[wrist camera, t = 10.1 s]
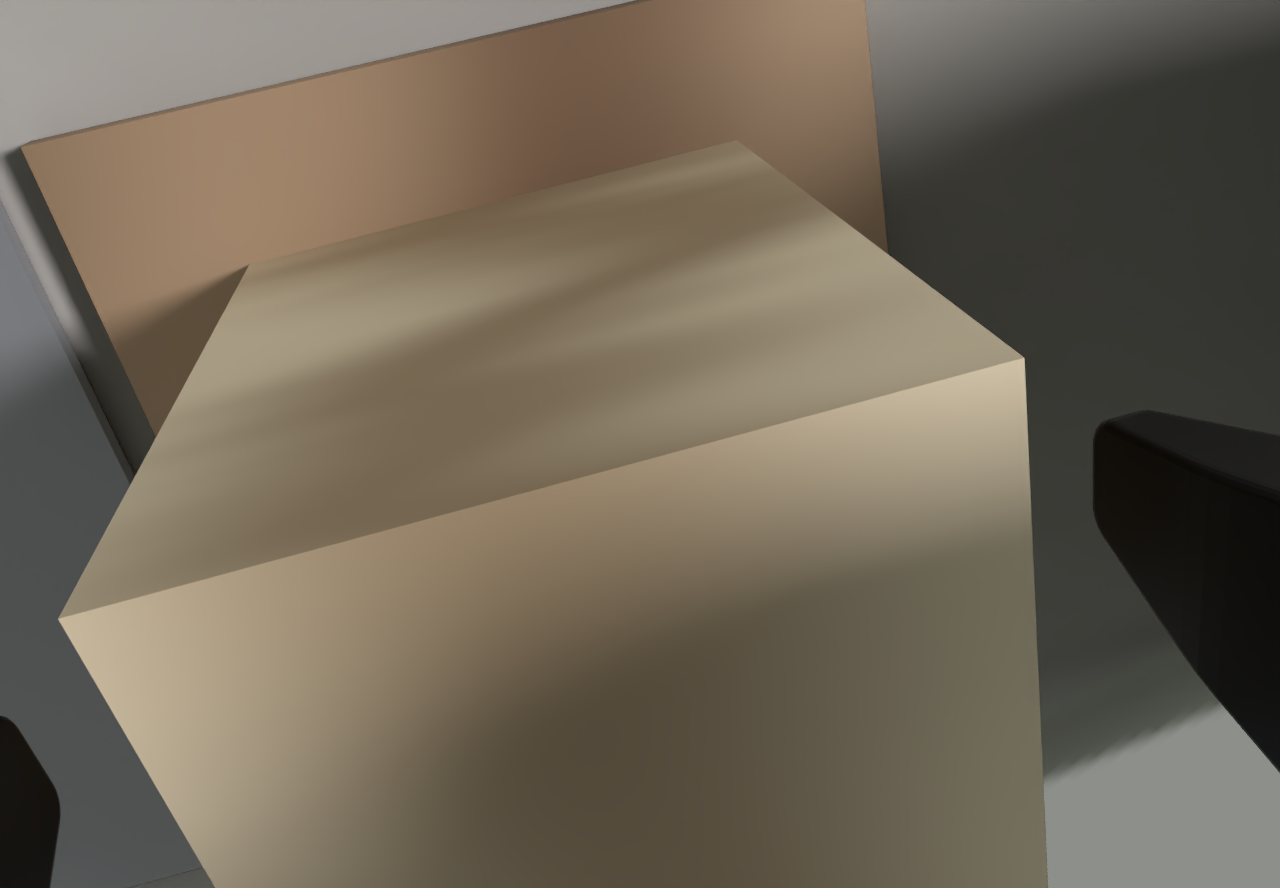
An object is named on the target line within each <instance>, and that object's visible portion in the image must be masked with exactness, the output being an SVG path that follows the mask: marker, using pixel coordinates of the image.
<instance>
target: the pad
mask: <svg viewBox="0 0 1280 888" xmlns="http://www.w3.org/2000/svg"><path fill="white" fill-rule="evenodd" d="M735 140H738V141H739V142H740V143H742V144H743V145H744V146H746V147H747V148H748V149H750V150H751V151H752V152H754V153H755V154H756V155H757V156H759V157H760V158H761V159H763V160H764V161H765V162H767V163H768V164H769V165H771V166H772V167H773V168H775V169H776V170H777V171H779V172H780V173H781V174H783V175H784V176H785V177H787V178H788V179H789V180H791V181H792V182H793V183H794V184H796V185H797V186H798V187H800V188H801V189H802V190H804V191H805V192H806V193H808V194H809V195H810V196H812V197H813V198H814V199H816V200H817V201H818V202H820V203H821V204H822V205H824V206H825V207H826V208H827V209H829V210H830V211H831V212H833V213H834V214H835V215H837V216H838V217H839V218H841V219H842V220H843V221H845V222H846V223H847V224H849V225H850V226H851V227H853V228H854V229H855V230H857V231H858V232H859V233H860V234H862V235H863V236H864V237H866V238H867V239H868V240H870V241H871V242H872V243H874V244H875V245H876V246H878V247H879V248H880V249H882V250H883V251H884V252H886V253H887V254H888V247H887V236H886V225H885V214H884V203H883V192H882V181H881V171H880V160H879V149H878V138H877V127H876V116H875V106H874V95H873V84H872V73H871V62H870V51H869V40H868V30H867V19H866V8H865V0H636V1H631V2H627V3H623V4H619V5H614V6H610V7H606V8H601V9H597V10H593V11H588V12H584V13H580V14H576V15H571V16H567V17H563V18H558V19H554V20H550V21H545V22H541V23H537V24H533V25H528V26H524V27H520V28H515V29H511V30H507V31H503V32H498V33H494V34H490V35H485V36H481V37H477V38H472V39H468V40H464V41H460V42H455V43H451V44H447V45H442V46H438V47H434V48H429V49H425V50H421V51H417V52H412V53H408V54H404V55H399V56H395V57H391V58H386V59H382V60H378V61H374V62H369V63H365V64H361V65H356V66H352V67H348V68H343V69H339V70H335V71H331V72H326V73H322V74H318V75H313V76H309V77H305V78H300V79H296V80H292V81H288V82H283V83H279V84H275V85H270V86H266V87H262V88H257V89H253V90H249V91H245V92H240V93H236V94H232V95H227V96H223V97H219V98H214V99H210V100H206V101H202V102H197V103H193V104H189V105H184V106H180V107H176V108H171V109H167V110H163V111H159V112H154V113H150V114H146V115H141V116H137V117H133V118H128V119H124V120H120V121H116V122H111V123H107V124H103V125H98V126H94V127H90V128H85V129H81V130H77V131H73V132H68V133H64V134H60V135H55V136H51V137H47V138H43V139H38V140H34V141H31V142H29V143H27V144H25V145H24V146H22V147H21V149H22V152H23V154H24V156H25V158H26V160H27V162H28V164H29V167H30V169H31V171H32V173H33V175H34V177H35V179H36V182H37V184H38V186H39V188H40V190H41V192H42V194H43V197H44V199H45V201H46V203H47V205H48V207H49V209H50V212H51V214H52V216H53V218H54V220H55V222H56V224H57V227H58V229H59V231H60V233H61V235H62V237H63V239H64V242H65V244H66V246H67V248H68V250H69V252H70V254H71V257H72V259H73V261H74V263H75V265H76V267H77V269H78V272H79V274H80V276H81V278H82V280H83V282H84V285H85V287H86V289H87V291H88V293H89V295H90V297H91V300H92V302H93V304H94V306H95V308H96V310H97V312H98V315H99V317H100V319H101V321H102V323H103V325H104V327H105V330H106V332H107V334H108V336H109V338H110V340H111V342H112V345H113V347H114V349H115V351H116V353H117V355H118V357H119V360H120V362H121V364H122V366H123V368H124V370H125V372H126V375H127V377H128V379H129V381H130V383H131V385H132V387H133V390H134V392H135V394H136V396H137V398H138V400H139V402H140V405H141V407H142V409H143V411H144V413H145V415H146V418H147V420H148V422H149V424H150V426H151V428H152V430H153V433H154V435H155V437H157V435H158V433H159V431H160V429H161V427H162V425H163V424H164V422H165V420H166V418H167V416H168V414H169V412H170V411H171V409H172V407H173V405H174V403H175V401H176V400H177V398H178V396H179V394H180V392H181V390H182V388H183V387H184V385H185V383H186V381H187V379H188V377H189V375H190V374H191V372H192V370H193V368H194V366H195V364H196V362H197V361H198V359H199V357H200V355H201V353H202V351H203V350H204V348H205V346H206V344H207V342H208V340H209V338H210V337H211V335H212V333H213V331H214V329H215V327H216V325H217V324H218V322H219V320H220V318H221V316H222V314H223V312H224V311H225V309H226V307H227V305H228V303H229V301H230V300H231V298H232V296H233V294H234V292H235V290H236V288H237V287H238V285H239V283H240V281H241V279H242V277H243V275H244V274H245V272H246V270H247V268H248V266H249V264H253V263H257V262H261V261H265V260H269V259H273V258H277V257H281V256H284V255H288V254H292V253H296V252H300V251H304V250H308V249H312V248H316V247H320V246H324V245H328V244H332V243H335V242H339V241H343V240H347V239H351V238H355V237H359V236H363V235H367V234H371V233H375V232H379V231H382V230H386V229H390V228H394V227H398V226H402V225H406V224H410V223H414V222H418V221H422V220H426V219H429V218H433V217H437V216H441V215H445V214H449V213H453V212H457V211H461V210H465V209H469V208H473V207H476V206H480V205H484V204H488V203H492V202H496V201H500V200H504V199H508V198H512V197H516V196H520V195H524V194H527V193H531V192H535V191H539V190H543V189H547V188H551V187H555V186H559V185H563V184H567V183H571V182H574V181H578V180H582V179H586V178H590V177H594V176H598V175H602V174H606V173H610V172H614V171H618V170H621V169H625V168H629V167H633V166H637V165H641V164H645V163H649V162H653V161H657V160H661V159H665V158H668V157H672V156H676V155H680V154H684V153H688V152H692V151H696V150H700V149H704V148H708V147H712V146H716V145H719V144H723V143H727V142H731V141H735Z"/></svg>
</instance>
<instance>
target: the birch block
mask: <svg viewBox="0 0 1280 888" xmlns="http://www.w3.org/2000/svg"><path fill="white" fill-rule="evenodd" d="M58 620H59V622H60V623H61V625H62V627H63V628H64V630H65V632H66V634H67V635H68V637H69V639H70V640H71V642H72V644H73V645H74V647H75V649H76V651H77V652H78V654H79V656H80V657H81V659H82V661H83V663H84V664H85V666H86V668H87V669H88V671H89V673H90V675H91V676H92V678H93V680H94V681H95V683H96V685H97V687H98V688H99V690H100V692H101V693H102V695H103V697H104V699H105V700H106V702H107V704H108V705H109V707H110V709H111V711H112V712H113V714H114V716H115V717H116V719H117V721H118V723H119V724H120V726H121V728H122V729H123V731H124V733H125V734H126V736H127V738H128V740H129V741H130V743H131V745H132V746H133V748H134V750H135V752H136V753H137V755H138V757H139V758H140V760H141V762H142V764H143V765H144V767H145V769H146V770H147V772H148V774H149V776H150V777H151V779H152V781H153V782H154V784H155V786H156V788H157V789H158V791H159V793H160V794H161V796H162V798H163V800H164V801H165V803H166V805H167V806H168V808H169V810H170V811H171V813H172V815H173V817H174V818H175V820H176V822H177V823H178V825H179V827H180V829H181V830H182V832H183V834H184V835H185V837H186V839H187V841H188V842H189V844H190V846H191V847H192V849H193V851H194V853H195V854H196V856H197V858H198V859H199V861H200V863H201V865H202V866H203V868H204V870H205V871H206V873H207V875H208V877H209V878H210V880H211V882H212V883H213V885H214V887H215V888H1048V875H1047V852H1046V830H1045V809H1044V785H1043V762H1042V740H1041V717H1040V695H1039V673H1038V650H1037V628H1036V605H1035V583H1034V560H1033V538H1032V515H1031V493H1030V470H1029V448H1028V425H1027V403H1026V380H1025V358H1024V357H1023V356H1022V355H1020V354H1019V353H1018V352H1016V351H1015V350H1014V349H1012V348H1011V347H1010V346H1008V345H1007V344H1006V343H1004V342H1003V341H1002V340H1000V339H999V338H998V337H996V336H995V335H994V334H993V333H991V332H990V331H989V330H987V329H986V328H985V327H983V326H982V325H981V324H979V323H978V322H977V321H975V320H974V319H973V318H971V317H970V316H969V315H967V314H966V313H965V312H963V311H962V310H961V309H960V308H958V307H957V306H956V305H954V304H953V303H952V302H950V301H949V300H948V299H946V298H945V297H944V296H942V295H941V294H940V293H938V292H937V291H936V290H934V289H933V288H932V287H930V286H929V285H928V284H927V283H925V282H924V281H923V280H921V279H920V278H919V277H917V276H916V275H915V274H913V273H912V272H911V271H909V270H908V269H907V268H905V267H904V266H903V265H901V264H900V263H899V262H897V261H896V260H895V259H893V258H892V257H891V256H890V255H888V254H887V253H886V252H884V251H883V250H882V249H880V248H879V247H878V246H876V245H875V244H874V243H872V242H871V241H870V240H868V239H867V238H866V237H864V236H863V235H862V234H860V233H859V232H858V231H857V230H855V229H854V228H853V227H851V226H850V225H849V224H847V223H846V222H845V221H843V220H842V219H841V218H839V217H838V216H837V215H835V214H834V213H833V212H831V211H830V210H829V209H827V208H826V207H825V206H824V205H822V204H821V203H820V202H818V201H817V200H816V199H814V198H813V197H812V196H810V195H809V194H808V193H806V192H805V191H804V190H802V189H801V188H800V187H798V186H797V185H796V184H794V183H793V182H792V181H791V180H789V179H788V178H787V177H785V176H784V175H783V174H781V173H780V172H779V171H777V170H776V169H775V168H773V167H772V166H771V165H769V164H768V163H767V162H765V161H764V160H763V159H761V158H760V157H759V156H757V155H756V154H755V153H754V152H752V151H751V150H750V149H748V148H747V147H746V146H744V145H743V144H742V143H740V142H739V141H738V140H735V141H731V142H727V143H723V144H719V145H716V146H712V147H708V148H704V149H700V150H696V151H692V152H688V153H684V154H680V155H676V156H672V157H668V158H665V159H661V160H657V161H653V162H649V163H645V164H641V165H637V166H633V167H629V168H625V169H621V170H618V171H614V172H610V173H606V174H602V175H598V176H594V177H590V178H586V179H582V180H578V181H574V182H571V183H567V184H563V185H559V186H555V187H551V188H547V189H543V190H539V191H535V192H531V193H527V194H524V195H520V196H516V197H512V198H508V199H504V200H500V201H496V202H492V203H488V204H484V205H480V206H476V207H473V208H469V209H465V210H461V211H457V212H453V213H449V214H445V215H441V216H437V217H433V218H429V219H426V220H422V221H418V222H414V223H410V224H406V225H402V226H398V227H394V228H390V229H386V230H382V231H379V232H375V233H371V234H367V235H363V236H359V237H355V238H351V239H347V240H343V241H339V242H335V243H332V244H328V245H324V246H320V247H316V248H312V249H308V250H304V251H300V252H296V253H292V254H288V255H284V256H281V257H277V258H273V259H269V260H265V261H261V262H257V263H253V264H249V266H248V268H247V270H246V272H245V274H244V275H243V277H242V279H241V281H240V283H239V285H238V287H237V288H236V290H235V292H234V294H233V296H232V298H231V300H230V301H229V303H228V305H227V307H226V309H225V311H224V312H223V314H222V316H221V318H220V320H219V322H218V324H217V325H216V327H215V329H214V331H213V333H212V335H211V337H210V338H209V340H208V342H207V344H206V346H205V348H204V350H203V351H202V353H201V355H200V357H199V359H198V361H197V362H196V364H195V366H194V368H193V370H192V372H191V374H190V375H189V377H188V379H187V381H186V383H185V385H184V387H183V388H182V390H181V392H180V394H179V396H178V398H177V400H176V401H175V403H174V405H173V407H172V409H171V411H170V412H169V414H168V416H167V418H166V420H165V422H164V424H163V425H162V427H161V429H160V431H159V433H158V435H157V437H156V438H155V440H154V442H153V444H152V446H151V448H150V450H149V451H148V453H147V455H146V457H145V459H144V461H143V462H142V464H141V466H140V468H139V470H138V472H137V474H136V475H135V477H134V479H133V481H132V483H131V485H130V487H129V488H128V490H127V492H126V494H125V496H124V498H123V500H122V501H121V503H120V505H119V507H118V509H117V511H116V512H115V514H114V516H113V518H112V520H111V522H110V524H109V525H108V527H107V529H106V531H105V533H104V535H103V537H102V538H101V540H100V542H99V544H98V546H97V548H96V550H95V551H94V553H93V555H92V557H91V559H90V561H89V563H88V564H87V566H86V568H85V570H84V572H83V574H82V575H81V577H80V579H79V581H78V583H77V585H76V587H75V588H74V590H73V592H72V594H71V596H70V598H69V600H68V601H67V603H66V605H65V607H64V609H63V611H62V613H61V614H60V616H59V618H58Z"/></svg>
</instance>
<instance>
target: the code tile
mask: <svg viewBox="0 0 1280 888" xmlns="http://www.w3.org/2000/svg"><path fill="white" fill-rule="evenodd" d="M134 477H135V476H134V474H133V472H132V470H131V467H130V465H129V463H128V461H127V459H126V457H125V455H124V453H123V451H122V449H121V447H120V445H119V443H118V441H117V439H116V437H115V435H114V433H113V430H112V428H111V426H110V424H109V422H108V420H107V418H106V416H105V414H104V412H103V410H102V408H101V406H100V404H99V402H98V400H97V398H96V395H95V393H94V391H93V389H92V387H91V385H90V383H89V381H88V379H87V377H86V375H85V373H84V371H83V369H82V367H81V365H80V363H79V360H78V358H77V356H76V354H75V352H74V350H73V348H72V346H71V344H70V342H69V340H68V338H67V336H66V334H65V332H64V330H63V328H62V326H61V323H60V321H59V319H58V317H57V315H56V313H55V311H54V309H53V307H52V305H51V303H50V301H49V299H48V297H47V295H46V293H45V291H44V288H43V286H42V284H41V282H40V280H39V278H38V276H37V274H36V272H35V270H34V268H33V266H32V264H31V262H30V260H29V258H28V256H27V254H26V251H25V249H24V247H23V245H22V243H21V241H20V239H19V237H18V235H17V233H16V231H15V229H14V227H13V225H12V223H11V221H10V219H9V216H8V214H7V212H6V210H5V208H4V206H3V204H2V202H1V200H0V716H4V717H7V718H9V719H10V720H11V721H12V722H14V723H15V725H16V726H17V727H18V729H19V730H20V732H21V733H22V735H23V736H24V738H25V740H26V741H27V743H28V744H29V746H30V748H31V749H32V751H33V752H34V754H35V756H36V757H37V759H38V760H39V762H40V764H41V765H42V767H43V768H44V770H45V772H46V773H47V775H48V776H49V778H50V779H51V781H52V783H53V784H54V786H55V789H56V791H57V794H58V797H59V802H60V811H61V817H60V826H59V833H58V840H57V846H56V853H55V860H54V867H53V873H52V880H51V887H50V888H130V887H133V886H137V885H141V884H144V883H148V882H152V881H155V880H159V879H162V878H166V877H170V876H173V875H177V874H181V873H184V872H188V871H192V870H195V869H199V868H202V867H203V866H202V865H201V863H200V861H199V859H198V858H197V856H196V854H195V853H194V851H193V849H192V847H191V846H190V844H189V842H188V841H187V839H186V837H185V835H184V834H183V832H182V830H181V829H180V827H179V825H178V823H177V822H176V820H175V818H174V817H173V815H172V813H171V811H170V810H169V808H168V806H167V805H166V803H165V801H164V800H163V798H162V796H161V794H160V793H159V791H158V789H157V788H156V786H155V784H154V782H153V781H152V779H151V777H150V776H149V774H148V772H147V770H146V769H145V767H144V765H143V764H142V762H141V760H140V758H139V757H138V755H137V753H136V752H135V750H134V748H133V746H132V745H131V743H130V741H129V740H128V738H127V736H126V734H125V733H124V731H123V729H122V728H121V726H120V724H119V723H118V721H117V719H116V717H115V716H114V714H113V712H112V711H111V709H110V707H109V705H108V704H107V702H106V700H105V699H104V697H103V695H102V693H101V692H100V690H99V688H98V687H97V685H96V683H95V681H94V680H93V678H92V676H91V675H90V673H89V671H88V669H87V668H86V666H85V664H84V663H83V661H82V659H81V657H80V656H79V654H78V652H77V651H76V649H75V647H74V645H73V644H72V642H71V640H70V639H69V637H68V635H67V634H66V632H65V630H64V628H63V627H62V625H61V623H60V622H59V620H58V618H59V616H60V614H61V613H62V611H63V609H64V607H65V605H66V603H67V601H68V600H69V598H70V596H71V594H72V592H73V590H74V588H75V587H76V585H77V583H78V581H79V579H80V577H81V575H82V574H83V572H84V570H85V568H86V566H87V564H88V563H89V561H90V559H91V557H92V555H93V553H94V551H95V550H96V548H97V546H98V544H99V542H100V540H101V538H102V537H103V535H104V533H105V531H106V529H107V527H108V525H109V524H110V522H111V520H112V518H113V516H114V514H115V512H116V511H117V509H118V507H119V505H120V503H121V501H122V500H123V498H124V496H125V494H126V492H127V490H128V488H129V487H130V485H131V483H132V481H133V479H134Z"/></svg>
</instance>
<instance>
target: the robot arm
mask: <svg viewBox="0 0 1280 888" xmlns="http://www.w3.org/2000/svg"><path fill="white" fill-rule="evenodd" d="M1093 510H1094V515H1095V519H1096V522H1097V525H1098V528H1099V530H1100V532H1101V534H1102V535H1103V537H1104V539H1105V540H1106V542H1107V543H1108V545H1109V546H1110V548H1111V549H1112V551H1113V552H1114V554H1115V555H1116V556H1117V558H1118V559H1119V561H1120V562H1121V564H1122V565H1123V567H1124V568H1125V570H1126V571H1127V573H1128V574H1129V576H1130V577H1131V579H1132V580H1133V582H1134V583H1135V585H1136V586H1137V588H1138V589H1139V591H1140V592H1141V594H1142V595H1143V597H1144V598H1145V599H1146V601H1147V602H1148V604H1149V605H1150V607H1151V608H1152V610H1153V611H1154V613H1155V614H1156V616H1157V617H1158V619H1159V620H1160V622H1161V623H1162V625H1163V626H1164V628H1165V629H1166V631H1167V632H1168V634H1169V635H1170V637H1171V638H1172V640H1173V641H1174V643H1175V644H1176V645H1177V647H1178V648H1179V650H1180V651H1181V653H1182V654H1183V656H1184V657H1185V658H1186V660H1187V661H1188V662H1189V664H1190V665H1191V667H1192V668H1193V669H1194V671H1195V672H1196V674H1197V675H1198V676H1199V677H1200V678H1201V680H1202V681H1203V682H1204V683H1205V685H1206V686H1207V687H1208V688H1209V690H1210V691H1211V692H1212V693H1213V695H1214V696H1215V697H1216V698H1217V699H1218V701H1219V702H1220V703H1221V704H1222V705H1223V706H1224V708H1225V709H1226V710H1227V711H1228V712H1229V714H1230V715H1231V716H1232V717H1233V718H1234V719H1235V721H1236V722H1237V723H1238V724H1239V725H1240V726H1241V728H1242V729H1243V730H1244V731H1245V732H1246V733H1247V735H1248V736H1249V737H1250V738H1251V739H1252V740H1253V742H1254V743H1255V744H1256V745H1257V746H1258V748H1259V749H1260V750H1261V751H1262V752H1263V753H1264V755H1265V756H1266V757H1267V758H1268V759H1269V761H1270V762H1271V763H1272V764H1273V765H1274V766H1275V768H1276V769H1277V770H1278V771H1279V772H1280V436H1277V435H1272V434H1267V433H1262V432H1257V431H1252V430H1247V429H1242V428H1237V427H1232V426H1227V425H1222V424H1217V423H1212V422H1207V421H1202V420H1197V419H1192V418H1186V417H1181V416H1176V415H1171V414H1166V413H1161V412H1156V411H1150V410H1146V411H1138V412H1135V413H1131V414H1127V415H1123V416H1120V417H1116V418H1112V419H1109V420H1106V421H1103V422H1102V423H1101V424H1100V425H1099V426H1098V427H1097V429H1096V431H1095V434H1094V439H1093ZM60 817H61V811H60V802H59V797H58V794H57V791H56V789H55V786H54V784H53V783H52V781H51V779H50V778H49V776H48V775H47V773H46V772H45V770H44V768H43V767H42V765H41V764H40V762H39V760H38V759H37V757H36V756H35V754H34V752H33V751H32V749H31V748H30V746H29V744H28V743H27V741H26V740H25V738H24V736H23V735H22V733H21V732H20V730H19V729H18V727H17V726H16V725H15V723H14V722H12V721H11V720H10V719H9V718H7V717H4V716H0V888H50V887H51V880H52V873H53V867H54V860H55V853H56V846H57V840H58V833H59V826H60Z"/></svg>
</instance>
